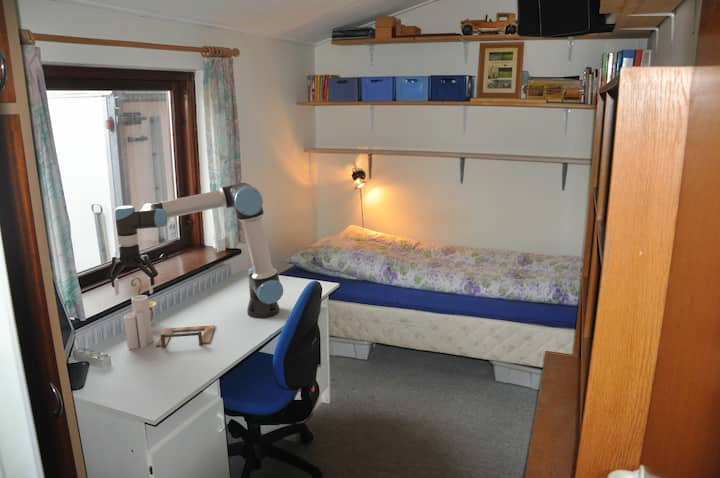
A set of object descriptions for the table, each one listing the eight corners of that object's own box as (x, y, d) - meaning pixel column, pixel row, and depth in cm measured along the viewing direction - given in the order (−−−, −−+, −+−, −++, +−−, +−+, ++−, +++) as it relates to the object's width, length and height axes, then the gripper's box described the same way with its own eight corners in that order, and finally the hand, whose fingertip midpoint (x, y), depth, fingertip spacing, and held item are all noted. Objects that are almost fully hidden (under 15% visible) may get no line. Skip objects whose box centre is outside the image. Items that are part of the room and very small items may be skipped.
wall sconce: (142, 335, 248) (135, 282, 242) (125, 333, 251) (118, 279, 245) (163, 323, 261) (157, 272, 254) (146, 321, 264) (140, 270, 257)
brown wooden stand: (215, 326, 256) (214, 314, 254) (209, 345, 237) (207, 332, 236) (165, 330, 254) (163, 317, 252) (155, 348, 235) (153, 335, 233)
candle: (143, 337, 246) (138, 294, 241) (157, 339, 244) (152, 296, 239) (125, 348, 236) (119, 303, 231) (139, 350, 233) (133, 305, 228)
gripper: (162, 240, 234) (167, 289, 239) (99, 243, 231) (106, 292, 236) (158, 245, 226) (163, 295, 232) (93, 247, 224) (100, 298, 229)
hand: (134, 293), depth 234 cm, fingers open, 13 cm apart
